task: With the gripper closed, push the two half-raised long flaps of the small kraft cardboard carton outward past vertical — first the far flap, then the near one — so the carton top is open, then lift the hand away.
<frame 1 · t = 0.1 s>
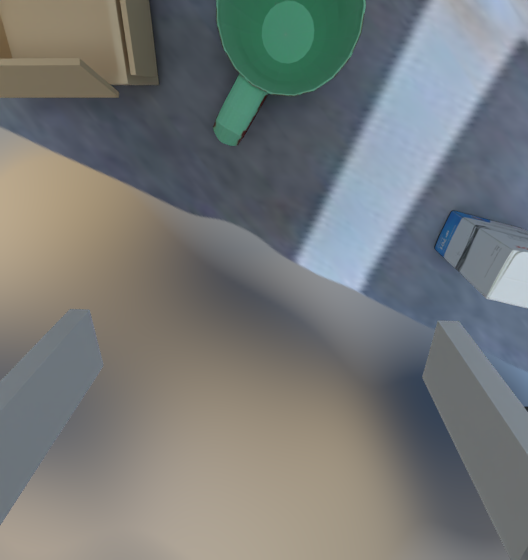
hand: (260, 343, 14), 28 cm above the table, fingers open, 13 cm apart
ink box: (477, 236, 41), on the table
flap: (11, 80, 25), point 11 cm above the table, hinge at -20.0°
carton: (72, 9, 33), on the table
mug: (273, 60, 34), on the table
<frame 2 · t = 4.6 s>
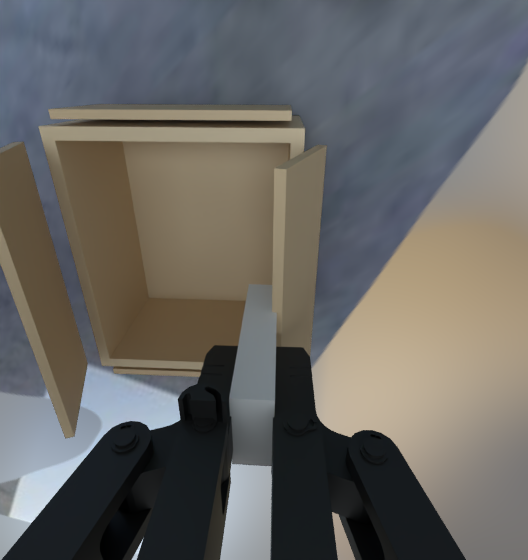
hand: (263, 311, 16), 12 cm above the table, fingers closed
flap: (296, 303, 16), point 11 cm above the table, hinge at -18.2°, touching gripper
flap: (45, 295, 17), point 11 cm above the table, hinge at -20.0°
carton: (211, 220, 27), on the table
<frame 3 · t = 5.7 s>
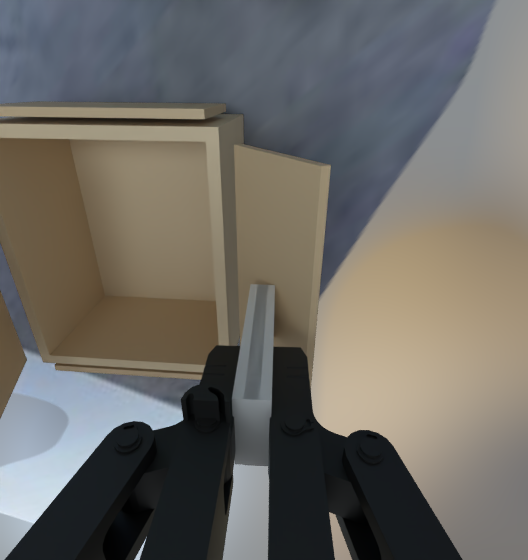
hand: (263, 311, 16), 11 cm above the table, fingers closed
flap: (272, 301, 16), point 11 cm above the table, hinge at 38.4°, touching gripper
carton: (163, 218, 26), on the table
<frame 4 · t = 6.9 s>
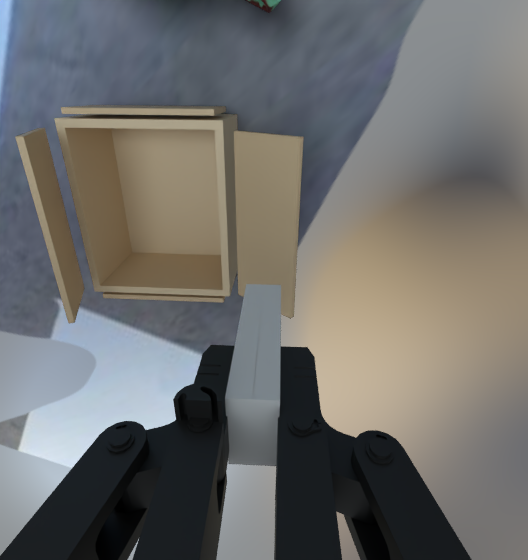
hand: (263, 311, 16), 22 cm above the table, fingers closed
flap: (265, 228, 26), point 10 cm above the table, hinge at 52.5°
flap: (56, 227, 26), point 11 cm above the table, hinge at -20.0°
carton: (178, 191, 36), on the table
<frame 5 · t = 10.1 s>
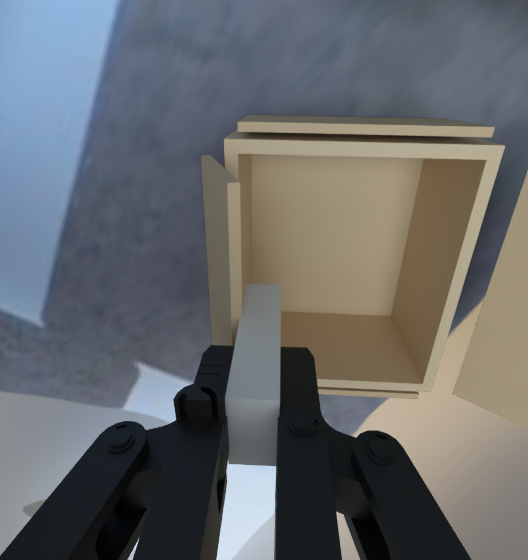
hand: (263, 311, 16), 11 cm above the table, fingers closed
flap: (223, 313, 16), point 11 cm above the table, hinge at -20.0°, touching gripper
carton: (327, 232, 26), on the table
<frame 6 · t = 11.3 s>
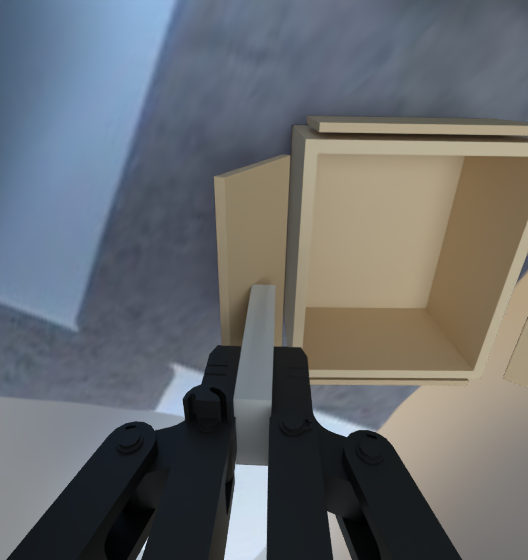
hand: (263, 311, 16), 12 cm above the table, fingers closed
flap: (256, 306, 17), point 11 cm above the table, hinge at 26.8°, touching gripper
carton: (368, 229, 27), on the table
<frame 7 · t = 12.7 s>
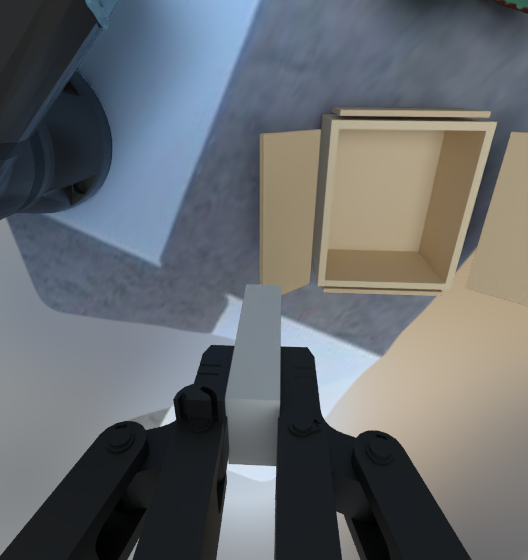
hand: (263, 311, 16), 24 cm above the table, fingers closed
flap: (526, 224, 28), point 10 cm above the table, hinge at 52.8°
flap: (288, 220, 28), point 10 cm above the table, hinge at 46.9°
carton: (375, 190, 37), on the table
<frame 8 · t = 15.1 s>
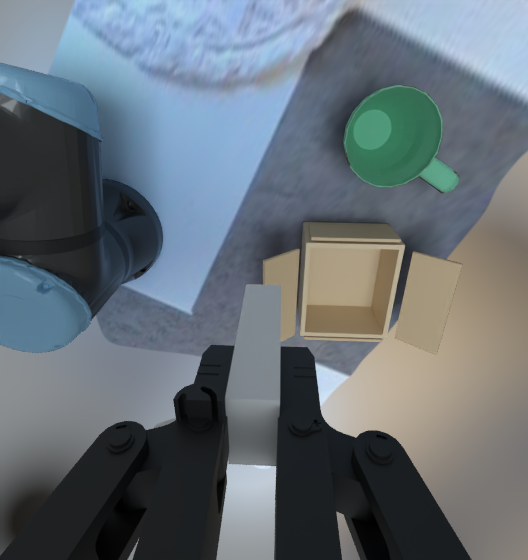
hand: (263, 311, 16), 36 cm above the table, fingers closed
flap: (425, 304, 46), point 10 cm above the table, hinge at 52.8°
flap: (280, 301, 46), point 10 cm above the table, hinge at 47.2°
carton: (340, 267, 55), on the table
mug: (386, 140, 47), on the table
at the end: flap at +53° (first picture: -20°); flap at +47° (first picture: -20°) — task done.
